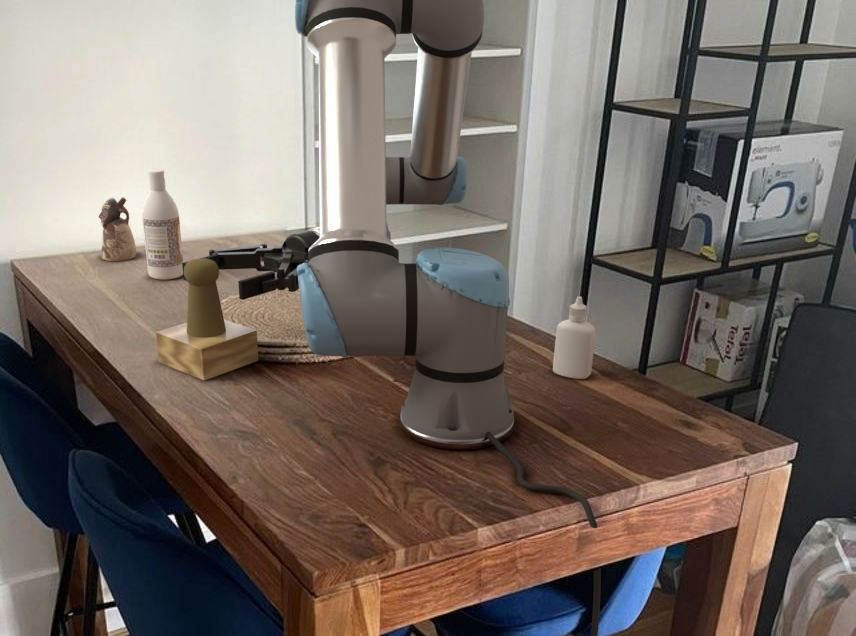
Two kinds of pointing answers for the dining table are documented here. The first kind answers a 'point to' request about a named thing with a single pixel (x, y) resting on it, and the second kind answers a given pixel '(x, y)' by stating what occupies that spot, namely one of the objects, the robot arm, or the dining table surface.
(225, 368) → the riser block
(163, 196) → the bath foam
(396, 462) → the dining table surface
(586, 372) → the eye dropper bottle
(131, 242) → the figurine
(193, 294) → the olive green peg figure
